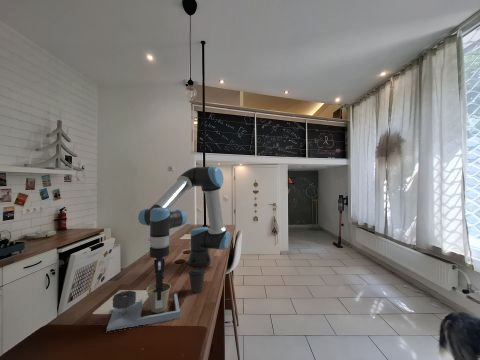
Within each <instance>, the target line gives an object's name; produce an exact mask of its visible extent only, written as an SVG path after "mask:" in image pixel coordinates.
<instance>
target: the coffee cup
mask: <svg viewBox="0 0 480 360" xmlns="http://www.w3.org/2000/svg"><path fill="white" fill-rule="evenodd" d="M205 274H206V271H205V269H203V268H194V269H191V270H189V271H188V275H189V281H190V292H191V293H192V294H200V293H202V292H203V288H204V279H205Z"/></svg>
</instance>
